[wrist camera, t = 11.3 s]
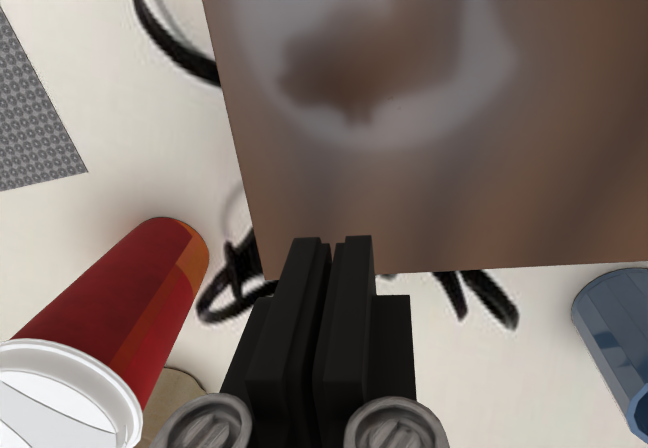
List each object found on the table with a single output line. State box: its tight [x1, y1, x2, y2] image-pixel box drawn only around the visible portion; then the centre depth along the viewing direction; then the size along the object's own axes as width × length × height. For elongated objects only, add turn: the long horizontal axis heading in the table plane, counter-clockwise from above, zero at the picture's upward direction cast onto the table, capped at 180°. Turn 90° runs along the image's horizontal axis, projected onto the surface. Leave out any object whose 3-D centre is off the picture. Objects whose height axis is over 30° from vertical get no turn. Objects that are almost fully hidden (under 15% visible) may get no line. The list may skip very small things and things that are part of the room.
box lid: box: [202, 0, 648, 280], centre depth 17 cm, size 16×13×1 cm
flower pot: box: [133, 368, 206, 448], centre depth 35 cm, size 9×9×9 cm
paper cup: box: [0, 217, 209, 448], centre depth 26 cm, size 8×8×14 cm
